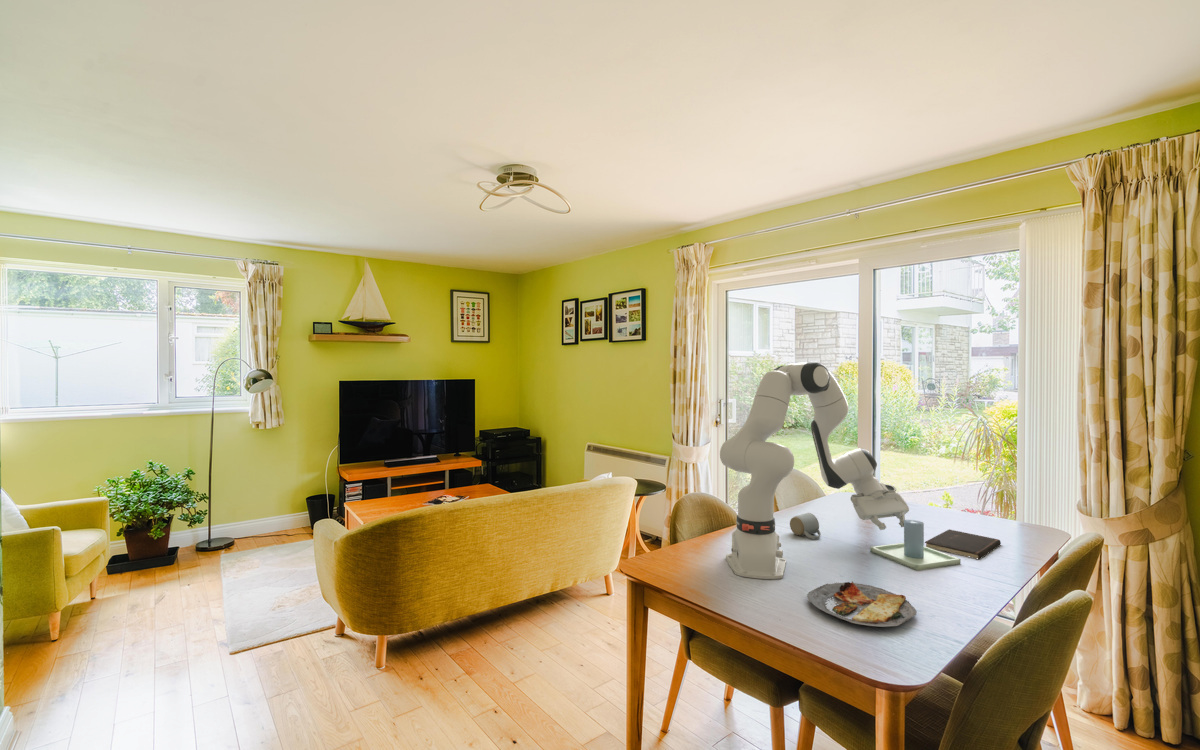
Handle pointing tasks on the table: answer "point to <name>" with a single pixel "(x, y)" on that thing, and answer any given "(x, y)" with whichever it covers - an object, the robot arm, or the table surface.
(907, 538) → the grey cylinder
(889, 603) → the food plate
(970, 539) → the hardcover book
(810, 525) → the ceramic mug
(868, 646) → the table surface
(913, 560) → the tray
